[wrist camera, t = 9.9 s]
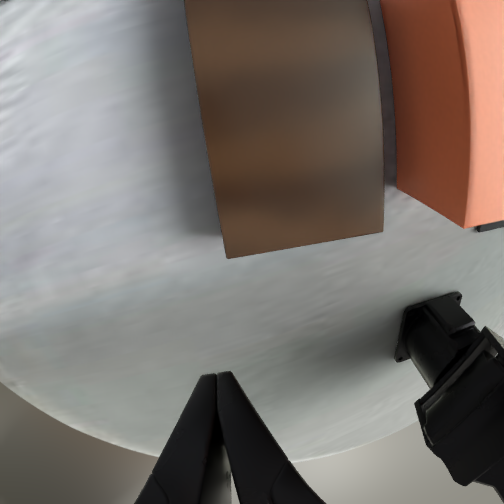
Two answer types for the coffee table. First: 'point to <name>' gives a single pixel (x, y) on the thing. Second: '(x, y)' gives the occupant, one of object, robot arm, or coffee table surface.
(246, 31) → the stand
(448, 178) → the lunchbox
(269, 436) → the robot arm
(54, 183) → the coffee table surface
